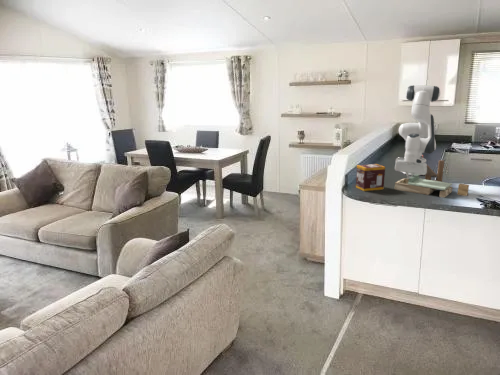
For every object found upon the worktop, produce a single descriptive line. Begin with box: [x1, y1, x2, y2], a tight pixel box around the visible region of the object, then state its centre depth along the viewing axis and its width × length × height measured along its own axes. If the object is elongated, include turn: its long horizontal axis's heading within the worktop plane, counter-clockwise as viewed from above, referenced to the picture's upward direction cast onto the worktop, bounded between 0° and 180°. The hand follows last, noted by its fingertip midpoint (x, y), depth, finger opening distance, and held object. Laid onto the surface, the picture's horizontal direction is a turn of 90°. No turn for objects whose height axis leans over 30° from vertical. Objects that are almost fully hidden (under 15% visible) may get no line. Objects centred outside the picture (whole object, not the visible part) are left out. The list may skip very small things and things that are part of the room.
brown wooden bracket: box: [424, 159, 445, 182], centre depth 266 cm, size 4×11×18 cm, turn 64°
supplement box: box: [355, 163, 386, 192], centre depth 262 cm, size 10×15×16 cm
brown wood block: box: [456, 183, 470, 197], centre depth 246 cm, size 4×5×6 cm
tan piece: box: [394, 177, 453, 199], centre depth 256 cm, size 16×31×4 cm, turn 49°
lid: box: [408, 174, 453, 191], centre depth 252 cm, size 16×22×4 cm
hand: (409, 179), depth 261 cm, fingers closed
